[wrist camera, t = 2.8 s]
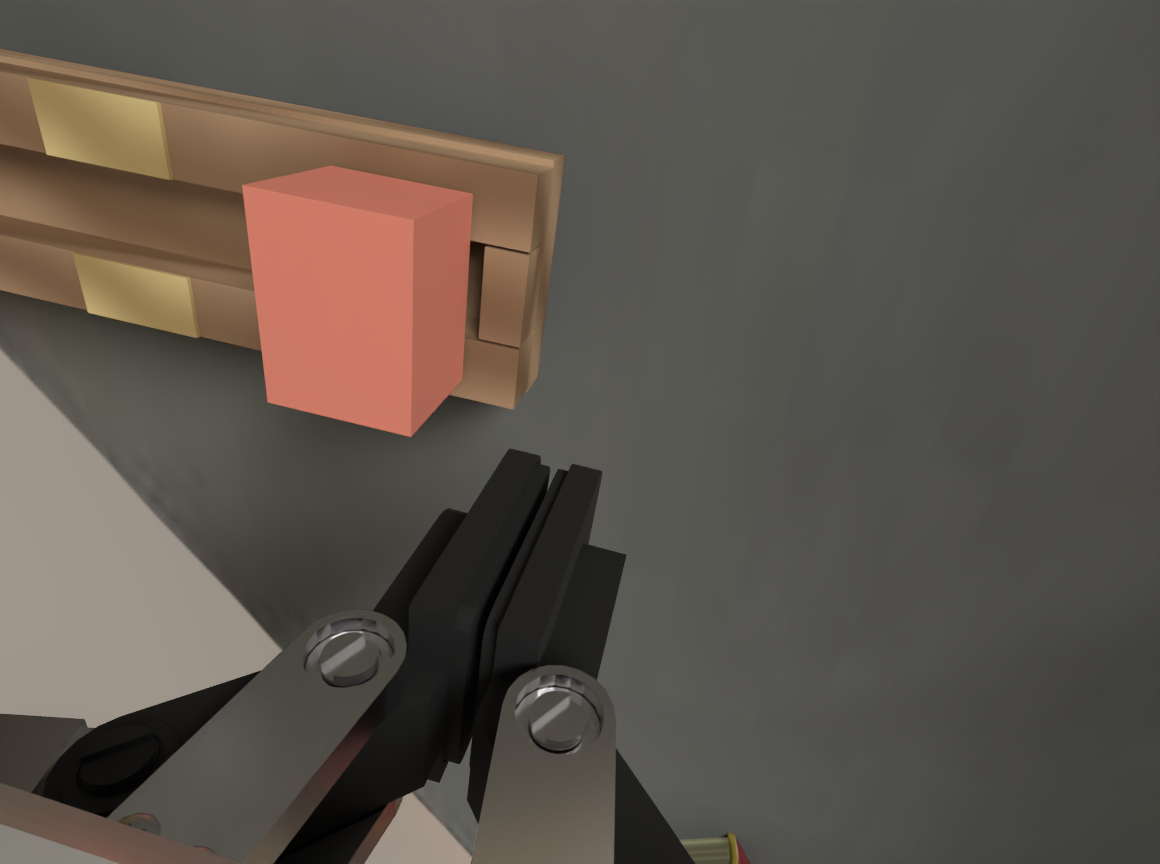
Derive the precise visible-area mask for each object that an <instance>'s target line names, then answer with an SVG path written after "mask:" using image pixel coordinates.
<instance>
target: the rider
mask: <svg viewBox="0 0 1160 864" xmlns="http://www.w3.org/2000/svg"><path fill="white" fill-rule="evenodd" d="M242 189H243V198H244V206H245V215H246V223H247V232H248V240H249V248H250V257H251V265H252V274H253V282H254V291H255V299H256V307H257V316H258V324H259V333H260V341H261V350H262V358H263V367H264V375H265V383H266V392H267V400H268V403H272V404H277V405H281V406H285V407H289V408H293V409H297V410H301V411H306V412H310V413H314V414H318V415H322V416H326V417H330V418H334V419H339V420H343V421H347V422H351V423H355V424H359V425H363V426H368V427H372V428H376V429H380V430H384V431H388V432H392V433H396V434H401V435H405V436H409V437H412V435H413V434H414V433H415V432H416V431H417V430H418V429H419V428H420V426H421V425H422V424H423V423H424V422H425V421H426V420H427V419H428V417H429V416H430V415H431V414H432V413H433V412H434V411H435V410H436V408H437V407H438V406H439V405H440V404H441V403H442V402H443V401H444V400H445V398H446V397H447V396H448V395H449V394H450V393H451V392H452V391H453V389H454V388H455V387H456V386H457V385H458V384H459V383H460V382H461V380H462V376H463V359H464V341H465V324H466V307H467V289H468V272H469V255H470V237H471V220H472V202H473V194H472V193H467V192H462V191H457V190H452V189H447V188H442V187H437V186H432V185H427V184H422V183H417V182H411V181H406V180H401V179H396V178H391V177H386V176H381V175H376V174H371V173H366V172H361V171H356V170H351V169H346V168H341V167H336V166H327V167H323V168H318V169H313V170H309V171H304V172H300V173H295V174H290V175H286V176H281V177H277V178H272V179H267V180H263V181H258V182H254V183H249V184H244V185H242Z"/></svg>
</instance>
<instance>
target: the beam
mask: <svg viewBox="0 0 1160 864" xmlns="http://www.w3.org/2000/svg"><path fill="white" fill-rule="evenodd" d="M564 160H565V155H561V154H556V153H550V152H545V151H540V150H534V149H529V148H524V147H518V146H513V145H508V144H502V143H497V142H492V141H486V140H481V139H476V138H471V137H465V136H460V135H455V134H449V133H444V132H439V131H433V130H428V129H423V128H417V127H412V126H407V125H401V124H396V123H391V122H385V121H380V120H375V119H370V118H364V117H359V116H354V115H348V114H343V113H338V112H332V111H327V110H322V109H316V108H311V107H306V106H300V105H295V104H290V103H285V102H279V101H274V100H269V99H263V98H258V97H253V96H247V95H242V94H237V93H231V92H226V91H221V90H215V89H210V88H205V87H200V86H194V85H189V84H184V83H178V82H173V81H168V80H162V79H157V78H152V77H146V76H141V75H136V74H130V73H125V72H120V71H114V70H109V69H104V68H99V67H93V66H88V65H83V64H77V63H72V62H67V61H61V60H56V59H51V58H45V57H40V56H35V55H29V54H24V53H19V52H14V51H8V50H3V49H0V290H2V291H7V292H11V293H15V294H19V295H24V296H28V297H32V298H37V299H41V300H45V301H50V302H54V303H58V304H62V305H67V306H71V307H75V308H80V309H84V310H87V311H88V313H91V314H96V315H100V316H104V317H109V318H113V319H117V320H121V321H126V322H130V323H134V324H139V325H143V326H147V327H151V328H156V329H160V330H164V331H168V332H173V333H177V334H181V335H186V336H190V337H194V338H198V337H204V338H208V339H213V340H217V341H221V342H225V343H230V344H234V345H238V346H243V347H247V348H251V349H255V350H260V351H262V350H261V341H260V333H259V324H258V316H257V307H256V299H255V291H254V282H253V274H252V265H251V257H250V248H249V240H248V232H247V223H246V215H245V206H244V198H243V189H242V185H244V184H249V183H254V182H258V181H263V180H267V179H272V178H277V177H281V176H286V175H290V174H295V173H300V172H304V171H309V170H313V169H318V168H323V167H327V166H336V167H341V168H346V169H351V170H356V171H361V172H366V173H371V174H376V175H381V176H386V177H391V178H396V179H401V180H406V181H411V182H417V183H422V184H427V185H432V186H437V187H442V188H447V189H452V190H457V191H462V192H467V193H472V194H473V202H472V220H471V237H470V255H469V272H468V289H467V307H466V324H465V341H464V359H463V376H462V380H461V382H460V383H459V384H458V385H457V386H456V387H455V388H454V389H453V391H452V392H451V393H450V394H449V395H453V396H457V397H461V398H466V399H470V400H474V401H479V402H483V403H487V404H491V405H496V406H500V407H504V408H509V409H514V408H515V406H516V405H517V403H518V402H519V400H520V399H521V397H522V395H523V394H524V392H528V390H529V389H530V387H531V386H532V384H533V383H534V381H535V379H536V378H537V376H538V369H539V361H540V353H541V345H542V337H543V329H544V321H545V313H546V305H547V297H548V289H549V281H550V273H551V265H552V257H553V249H554V241H555V233H556V225H557V217H558V209H559V201H560V193H561V185H562V176H563V168H564Z"/></svg>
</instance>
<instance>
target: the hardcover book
mask: <svg viewBox="0 0 1160 864" xmlns="http://www.w3.org/2000/svg"><path fill="white" fill-rule="evenodd" d="M727 835H728V837H720V838H703V839H686V840H680V842H681V843H682V845H683V846H684V848H685V849H686V851H687V852H688V853H689V855H690V856H691V858H692V859H693V861H694V862H695V864H750V862H749V860H748V859H747V857H746V855H745V853H744V851H743V850H742V848H741V846H740V844H739V843H738V841H737V839H736V837H735V836H734V834H733V833H727Z"/></svg>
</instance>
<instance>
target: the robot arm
mask: <svg viewBox="0 0 1160 864" xmlns="http://www.w3.org/2000/svg"><path fill="white" fill-rule="evenodd" d="M549 474H550V467H549V466H545V465H541V457H540V456H539V455H535V454H531V453H527V452H522V451H518V450H514V449H509V450H508V451H507V453H506V454H505V456H504V457H503V459H502V460H501V462H500V464H499V465H498V467H497V468H496V470H495V471H494V473H493V475H492V476H491V478H490V479H489V481H488V482H487V484H486V485H485V487H484V489H483V490H482V492H481V493H480V495H479V496H478V498H477V500H476V501H475V503H474V504H473V506H472V507H471V509H470V511H469V512H468V513H464V512H460V511H457V510H453V509H449V508H448V509H446V510H444V511H443V512H442V513H441V515H440V516H439V517H438V519H437V520H436V522H435V523H434V524H433V526H432V527H431V529H430V530H429V532H428V533H427V534H426V536H425V537H424V539H423V540H422V542H421V543H420V544H419V546H418V547H417V549H416V550H415V552H414V553H413V554H412V556H411V557H410V559H409V560H408V562H407V563H406V564H405V566H404V567H403V569H402V570H401V571H400V573H399V574H398V576H397V577H396V579H395V580H394V581H393V583H392V584H391V586H390V587H389V589H388V590H387V591H386V593H385V594H384V596H383V597H382V599H381V600H380V601H379V603H378V604H377V606H376V607H375V609H374V610H373V611H370V610H347V611H341V612H336V613H333V614H331V615H328V616H326V617H324V618H321V619H319V620H317V621H316V622H314V623H313V624H312V625H310V626H309V627H308V628H306V629H305V630H304V631H303V632H302V633H301V634H300V635H298V636H297V637H296V638H295V639H294V640H293V641H292V642H291V643H290V644H289V645H288V646H287V647H286V648H285V649H284V650H283V651H282V652H281V653H280V654H278V655H277V656H276V657H275V658H274V659H273V660H272V661H271V662H270V663H269V664H268V665H267V666H266V667H265V668H264V669H263V670H261V671H258V672H255V673H252V674H249V675H246V676H243V677H240V678H237V679H234V680H231V681H228V682H225V683H222V684H219V685H216V686H213V687H210V688H206V689H204V690H201V691H197V692H194V693H191V694H188V695H185V696H182V697H179V698H176V699H173V700H170V701H167V702H164V703H161V704H158V705H154V706H151V707H149V708H145V709H142V710H139V711H136V712H133V713H130V714H127V715H124V716H121V717H118V718H116V719H114V720H112V721H109V722H107V723H105V724H102V725H100V726H98V727H97V728H87V725H86V722H85V720H84V719H73V718H58V717H57V718H56V717H42V716H27V715H12V714H0V864H364V863H365V861H366V860H367V858H368V857H369V855H370V854H371V852H372V851H373V849H374V847H375V846H376V844H377V843H378V841H379V840H380V838H381V837H382V835H383V834H384V832H385V830H386V829H387V827H388V826H389V824H390V823H391V821H392V819H393V818H394V817H395V815H396V813H397V811H398V809H399V806H400V804H401V802H402V798H403V796H405V795H407V794H409V793H411V792H413V791H415V790H417V789H420V788H422V787H424V785H425V783H426V781H427V779H429V780H432V781H435V782H438V783H439V782H440V780H441V778H442V775H443V773H444V771H445V768H446V766H447V764H448V761H450V762H454V763H457V764H460V763H461V761H462V759H463V757H464V755H465V752H466V750H467V748H468V745H469V743H470V740H471V738H472V745H471V755H470V777H469V787H468V796H467V801H468V803H469V805H470V807H471V809H472V811H473V814H474V816H475V818H476V820H477V822H478V824H479V825H478V830H477V835H476V840H475V845H474V850H473V855H472V861H471V864H695V862H694V861H693V859H692V858H691V856H690V855H689V853H688V852H687V851H686V849H685V848H684V846H683V845H682V843H681V842H680V840H679V839H678V838H677V836H676V835H675V833H674V832H673V830H672V829H671V827H670V826H669V824H668V823H667V822H666V820H665V819H664V817H663V816H662V814H661V813H660V811H659V810H658V808H657V807H656V806H655V804H654V803H653V801H652V800H651V798H650V797H649V795H648V794H647V793H646V791H645V790H644V788H643V787H642V785H641V784H640V782H639V781H638V779H637V778H636V777H635V775H634V774H633V772H632V771H631V769H630V768H629V766H628V765H627V763H626V762H625V761H624V759H623V758H622V756H621V755H620V753H619V752H618V750H617V749H616V715H615V709H614V704H613V702H612V700H611V698H610V697H609V695H608V693H607V691H606V690H605V689H604V688H603V687H602V686H601V684H600V683H599V682H598V681H597V677H598V673H599V668H600V664H601V660H602V656H603V652H604V647H605V643H606V639H607V635H608V630H609V626H610V622H611V618H612V614H613V609H614V605H615V601H616V597H617V592H618V588H619V584H620V580H621V575H622V571H623V567H624V563H625V559H626V554H622V553H618V552H614V551H610V550H606V549H602V548H599V547H595V546H591V545H588V543H589V538H590V533H591V528H592V523H593V518H594V513H595V508H596V503H597V498H598V493H599V488H600V483H601V478H602V471H600V470H596V469H592V468H587V467H583V466H579V465H575V464H572V465H571V467H570V469H569V471H565V470H561V469H558V470H557V472H556V474H555V476H554V478H553V481H552V483H551V485H550V487H549V489H548V491H547V487H548V481H549Z"/></svg>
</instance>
